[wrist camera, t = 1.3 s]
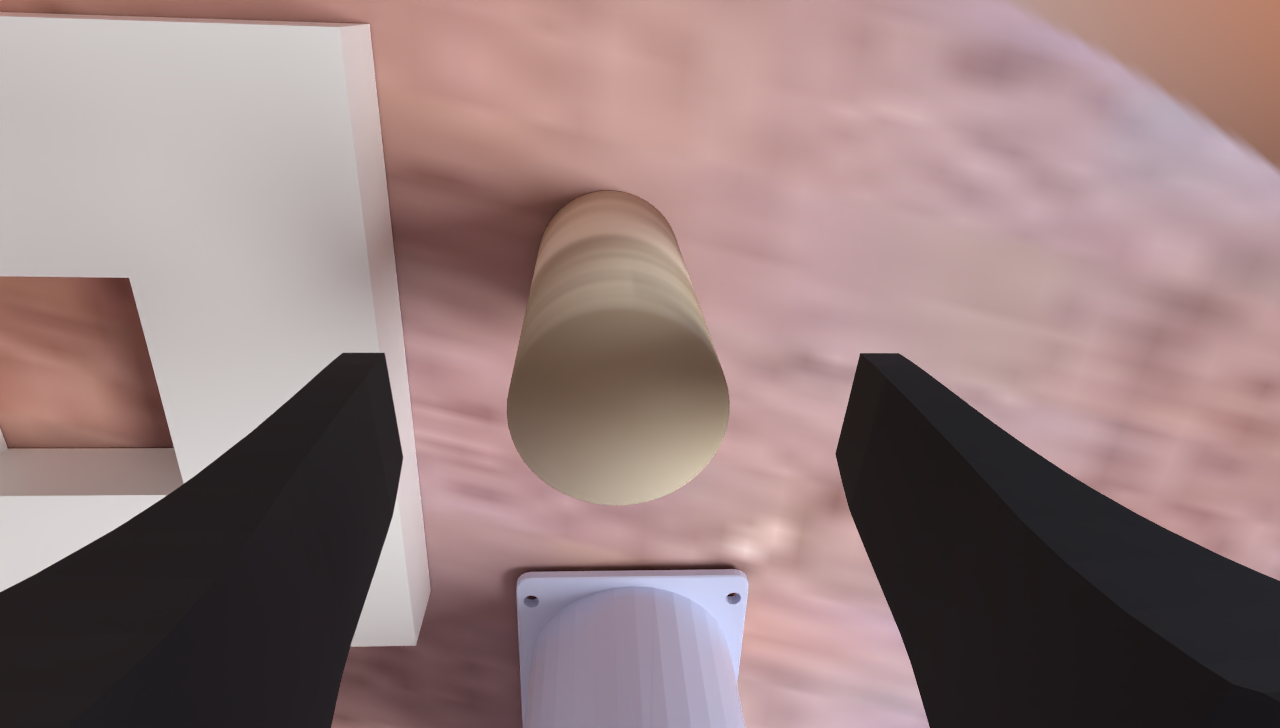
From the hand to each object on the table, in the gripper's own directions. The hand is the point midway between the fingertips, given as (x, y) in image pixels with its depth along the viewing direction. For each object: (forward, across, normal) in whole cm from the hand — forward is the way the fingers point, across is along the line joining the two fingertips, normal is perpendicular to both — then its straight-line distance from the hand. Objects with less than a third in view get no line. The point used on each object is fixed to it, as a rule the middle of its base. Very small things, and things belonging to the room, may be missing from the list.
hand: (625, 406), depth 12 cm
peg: (+10, 0, +3) cm, 11 cm away
